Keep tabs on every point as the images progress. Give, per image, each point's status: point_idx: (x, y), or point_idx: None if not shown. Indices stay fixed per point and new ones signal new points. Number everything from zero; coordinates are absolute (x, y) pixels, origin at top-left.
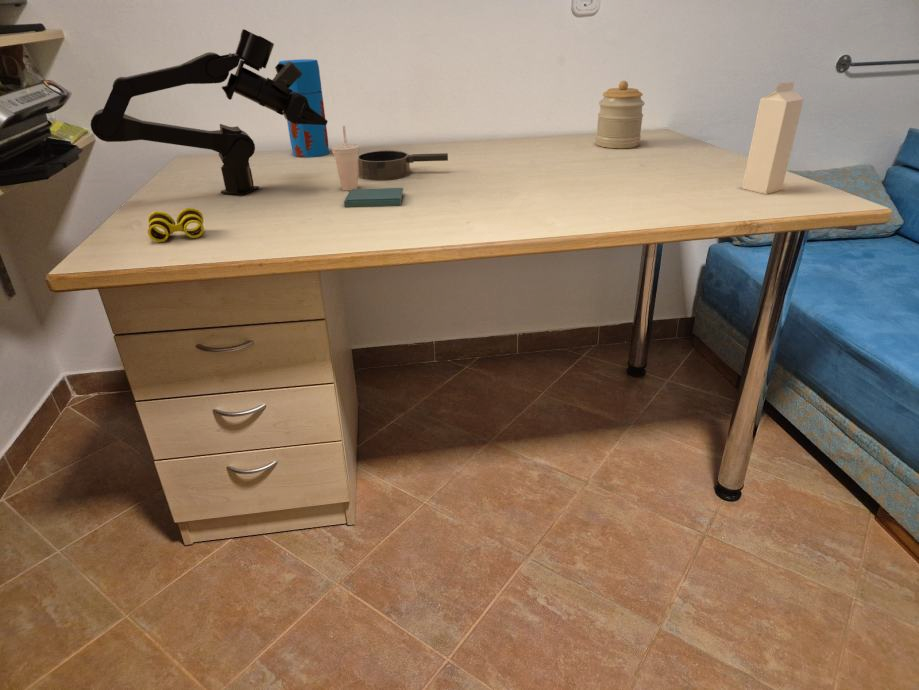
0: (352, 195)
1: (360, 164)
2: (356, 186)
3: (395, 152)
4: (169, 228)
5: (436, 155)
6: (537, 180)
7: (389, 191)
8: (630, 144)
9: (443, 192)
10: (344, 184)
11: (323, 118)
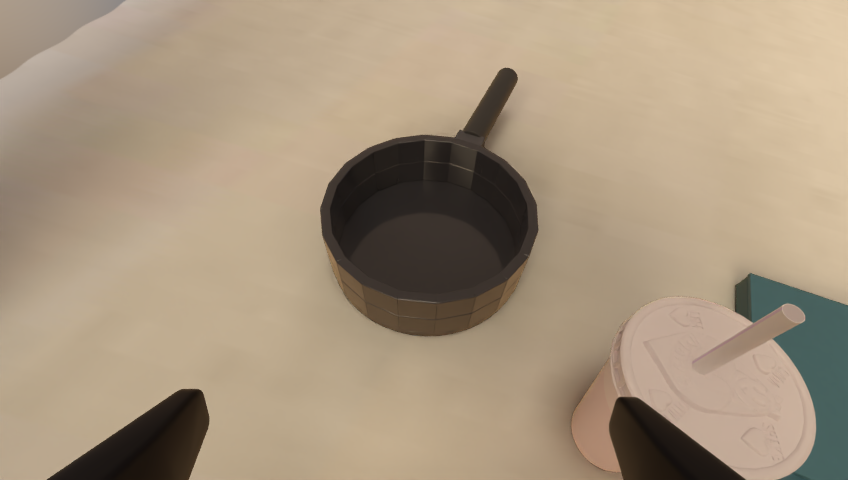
0: None
1: (454, 309)
2: None
3: (374, 155)
4: None
5: (506, 91)
6: (646, 35)
7: (805, 327)
8: None
9: (723, 190)
10: None
11: (688, 441)
